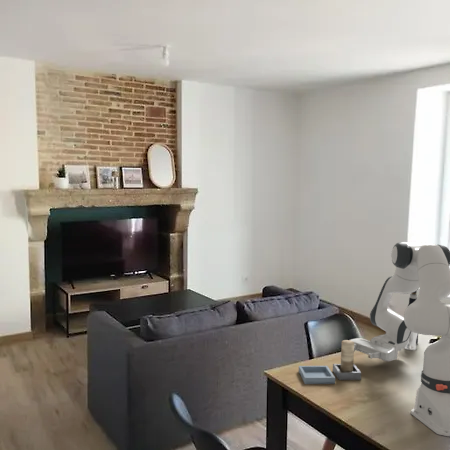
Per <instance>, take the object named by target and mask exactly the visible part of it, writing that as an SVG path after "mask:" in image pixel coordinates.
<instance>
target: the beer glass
mask: <svg viewBox="0 0 450 450" xmlns="http://www.w3.org/2000/svg"><path fill="white" fill-rule="evenodd" d="M417 335H418V336H419V334H418V333H414V332H411V334H410V336H409V338H408V344H407V346H406V347H405V348H403V349H404V350H408V351H417V344H416V339H417Z"/></svg>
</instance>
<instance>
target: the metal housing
mask: <svg viewBox="0 0 450 450" xmlns="http://www.w3.org/2000/svg"><path fill="white" fill-rule="evenodd" d="M340 369H341V363H333V364H332V373H333V375H334V376H335V378H337V379H338V381H361V379H362V372H361V370H360V369H359V368H358V367H357V365H356V364H355V363H353V372H341V371H340Z"/></svg>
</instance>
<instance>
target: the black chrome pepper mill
mask: <svg viewBox="0 0 450 450" xmlns="http://www.w3.org/2000/svg"><path fill="white" fill-rule="evenodd" d="M417 291H418V290H416V291H415V292H413V293H409V298H408V305H407V307H408V306H409V305H410V304H412V303H413V302H414V301H415V300H416V299H417V297H418V295H417ZM418 342H419V334H418V335H417V339H416V345H418V344H419V343H418Z"/></svg>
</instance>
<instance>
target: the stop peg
mask: <svg viewBox="0 0 450 450" xmlns="http://www.w3.org/2000/svg"><path fill="white" fill-rule="evenodd" d="M350 340H351V339H349V340H348V339H344V340H341V347H340V349H341V352H340V364H341V369H340V371H341V372H353V364H354V359H355V357H354V355H355V351H354V342H353V341H350Z"/></svg>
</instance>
